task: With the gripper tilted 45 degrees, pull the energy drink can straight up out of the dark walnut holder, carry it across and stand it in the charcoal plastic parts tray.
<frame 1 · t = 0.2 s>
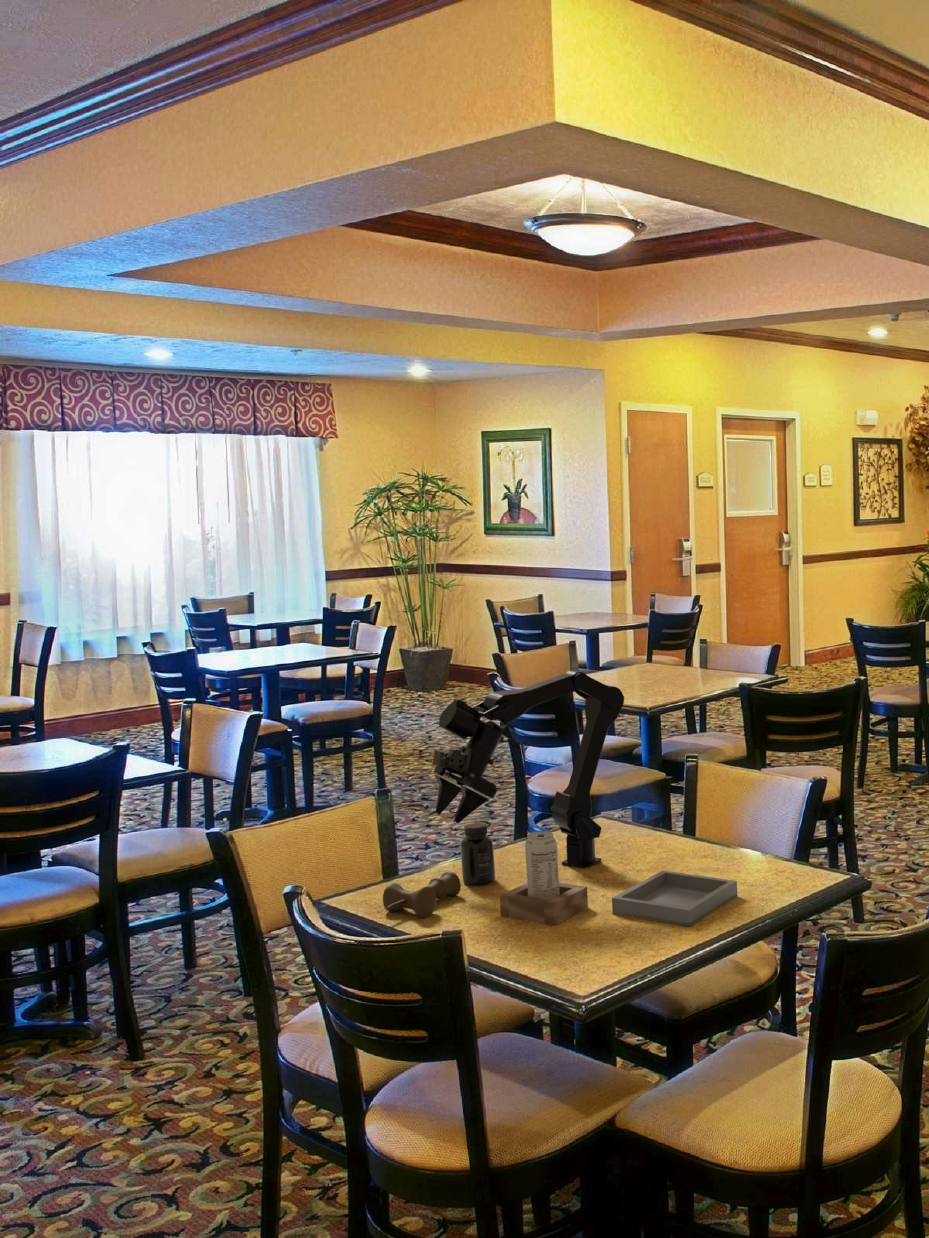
hand: (446, 817, 254), 15 cm above the table, tool tilted 35°, fingers open, 9 cm apart
energy drink can: (544, 912, 237), resting in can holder
parts tray: (675, 904, 237), on the table
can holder: (544, 911, 237), on the table
supplement bottle: (479, 882, 259), on the table
kendama: (421, 909, 244), on the table
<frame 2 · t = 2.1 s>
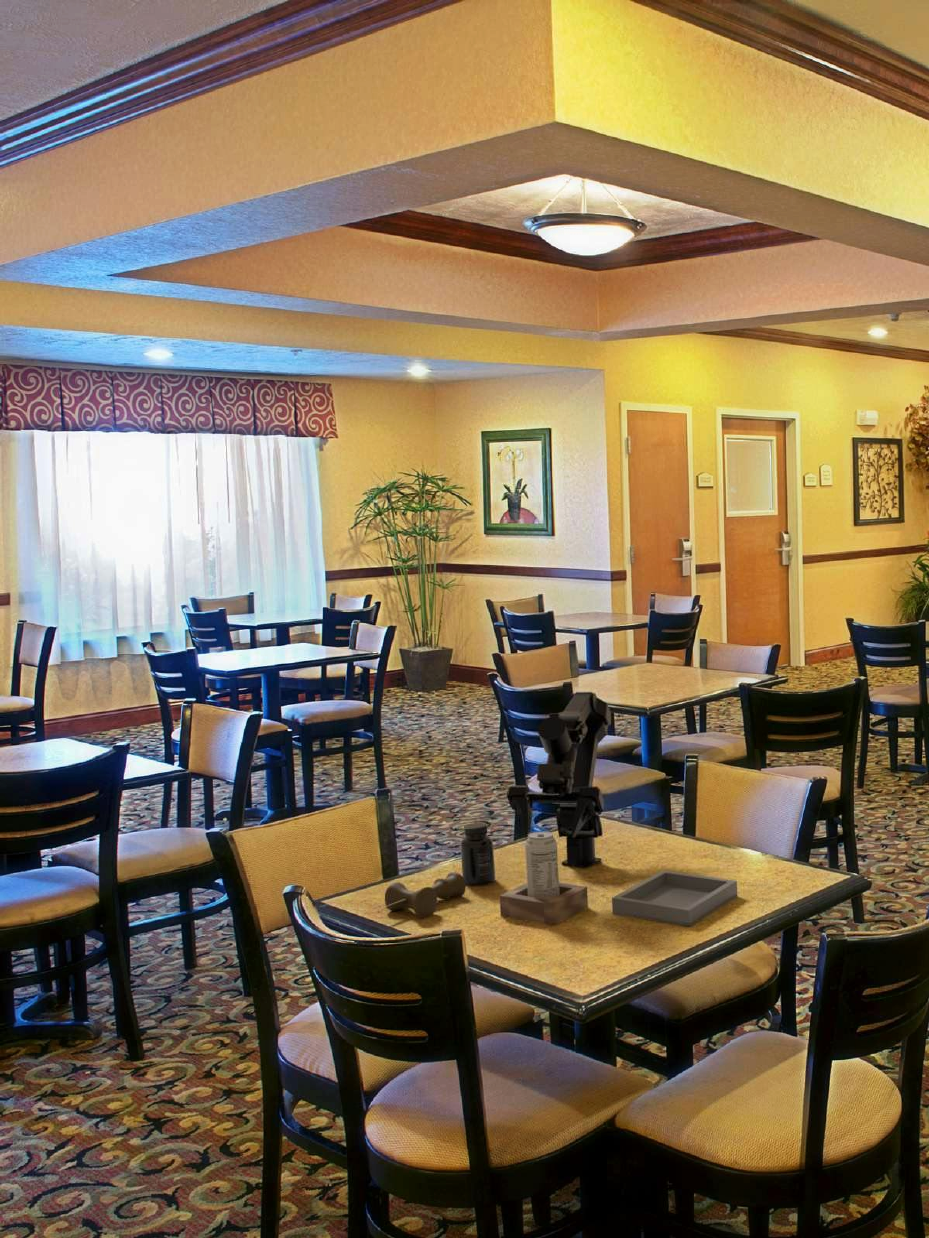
hand: (549, 835, 242), 13 cm above the table, tool tilted 45°, fingers open, 9 cm apart
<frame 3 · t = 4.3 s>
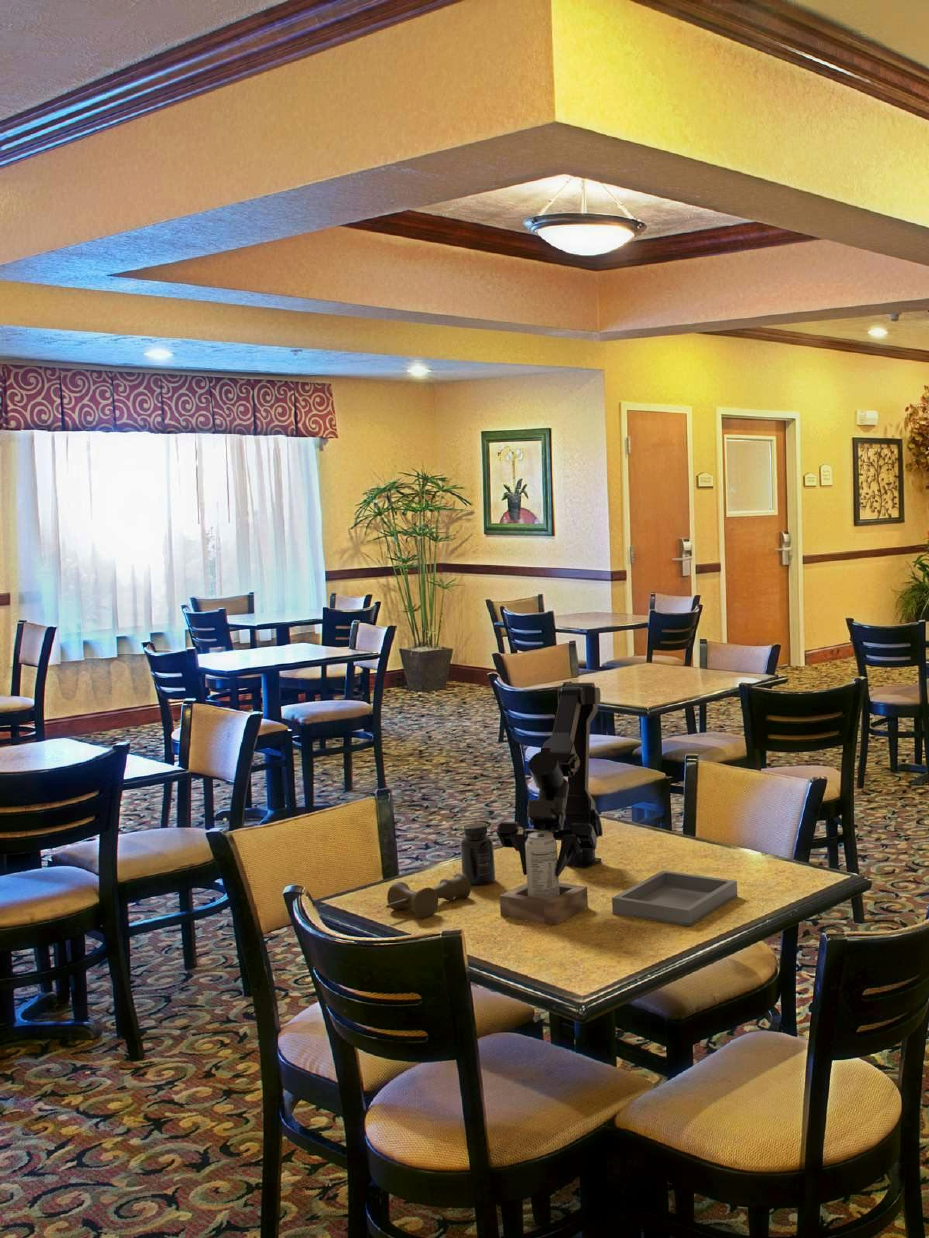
hand: (540, 874, 235), 8 cm above the table, tool tilted 45°, fingers closed on energy drink can, 6 cm apart
energy drink can: (544, 912, 237), resting in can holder, touching gripper
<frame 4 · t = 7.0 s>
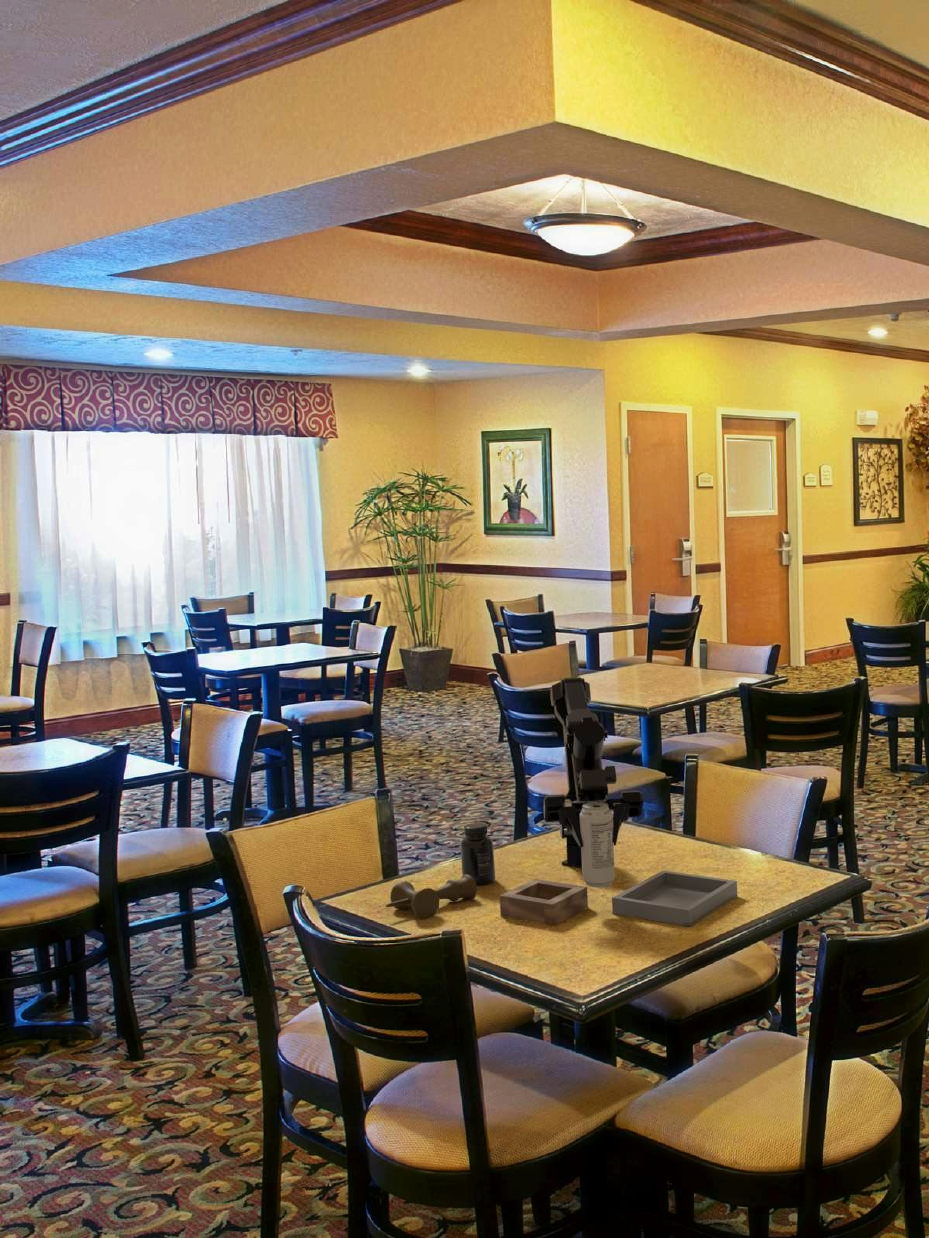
hand: (598, 845, 232), 13 cm above the table, tool tilted 45°, fingers closed on energy drink can, 6 cm apart
energy drink can: (599, 884, 234), point 5 cm above the table, touching gripper
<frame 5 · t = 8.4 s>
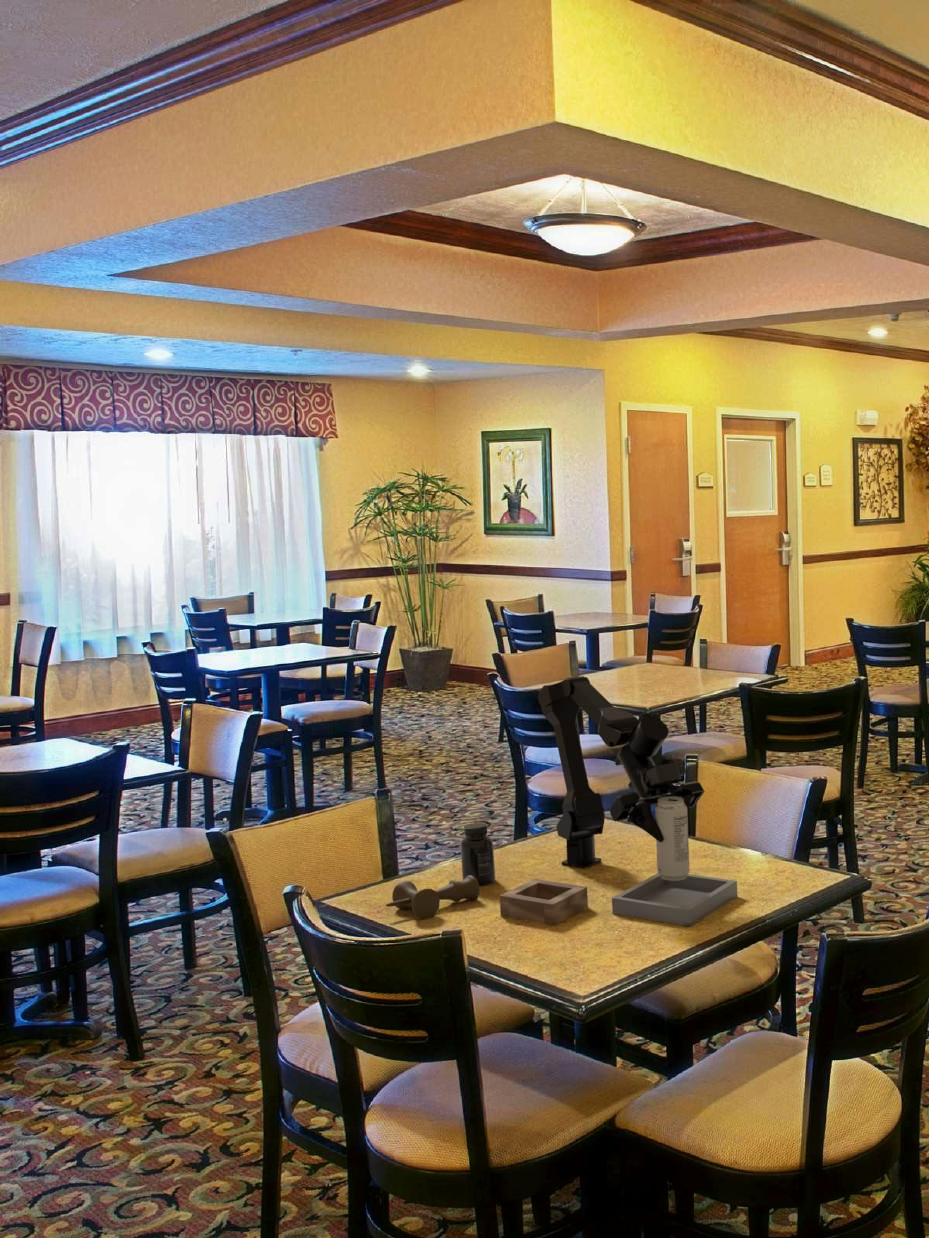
hand: (676, 838, 234), 13 cm above the table, tool tilted 45°, fingers closed on energy drink can, 6 cm apart
energy drink can: (673, 877, 236), point 5 cm above the table, touching gripper
when the fingers open (9 cm above the table, at t = 9.6 s): energy drink can drops 1 cm, resting on parts tray.
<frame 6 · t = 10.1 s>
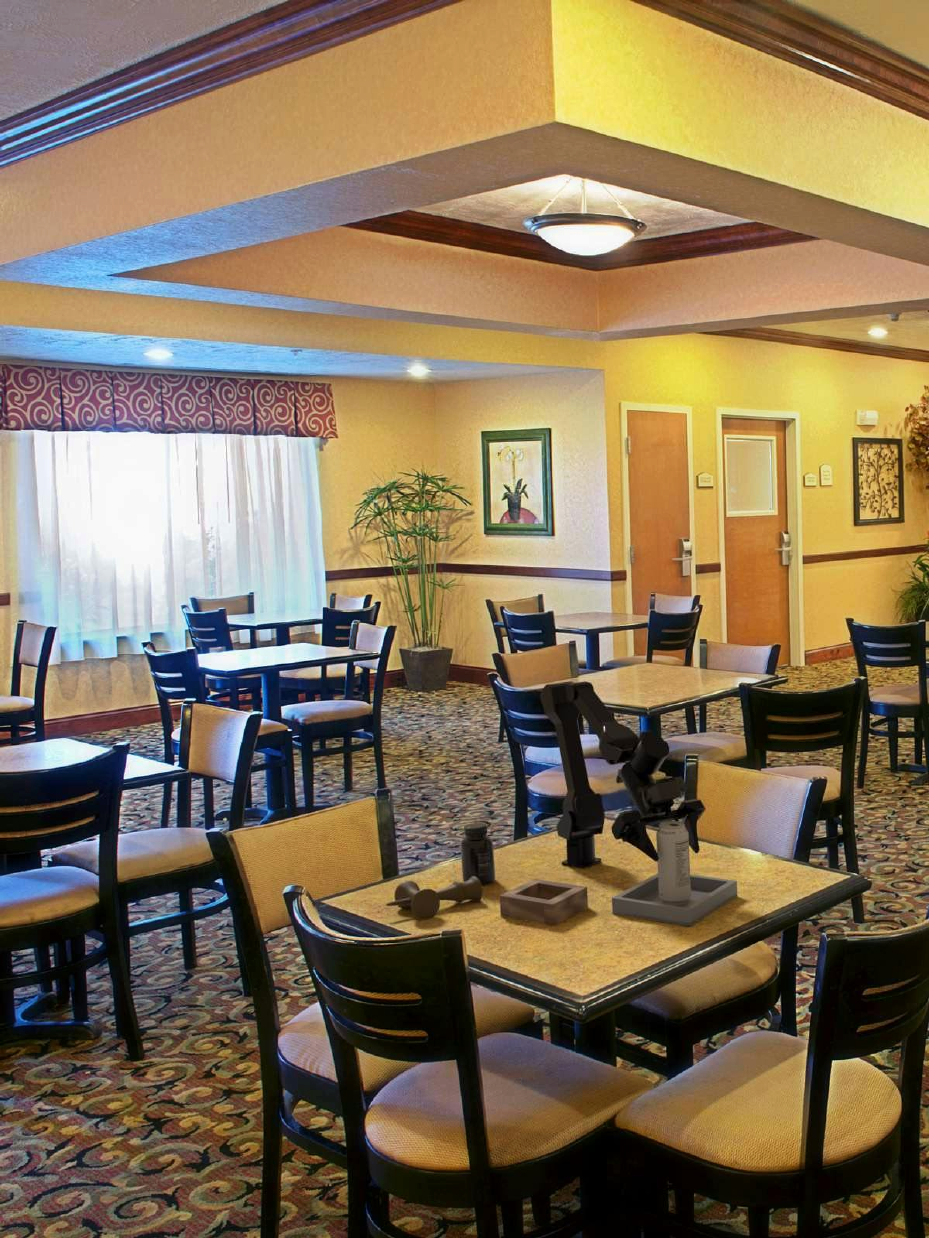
hand: (677, 856, 235), 10 cm above the table, tool tilted 45°, fingers open, 9 cm apart
energy drink can: (675, 902, 237), resting on parts tray
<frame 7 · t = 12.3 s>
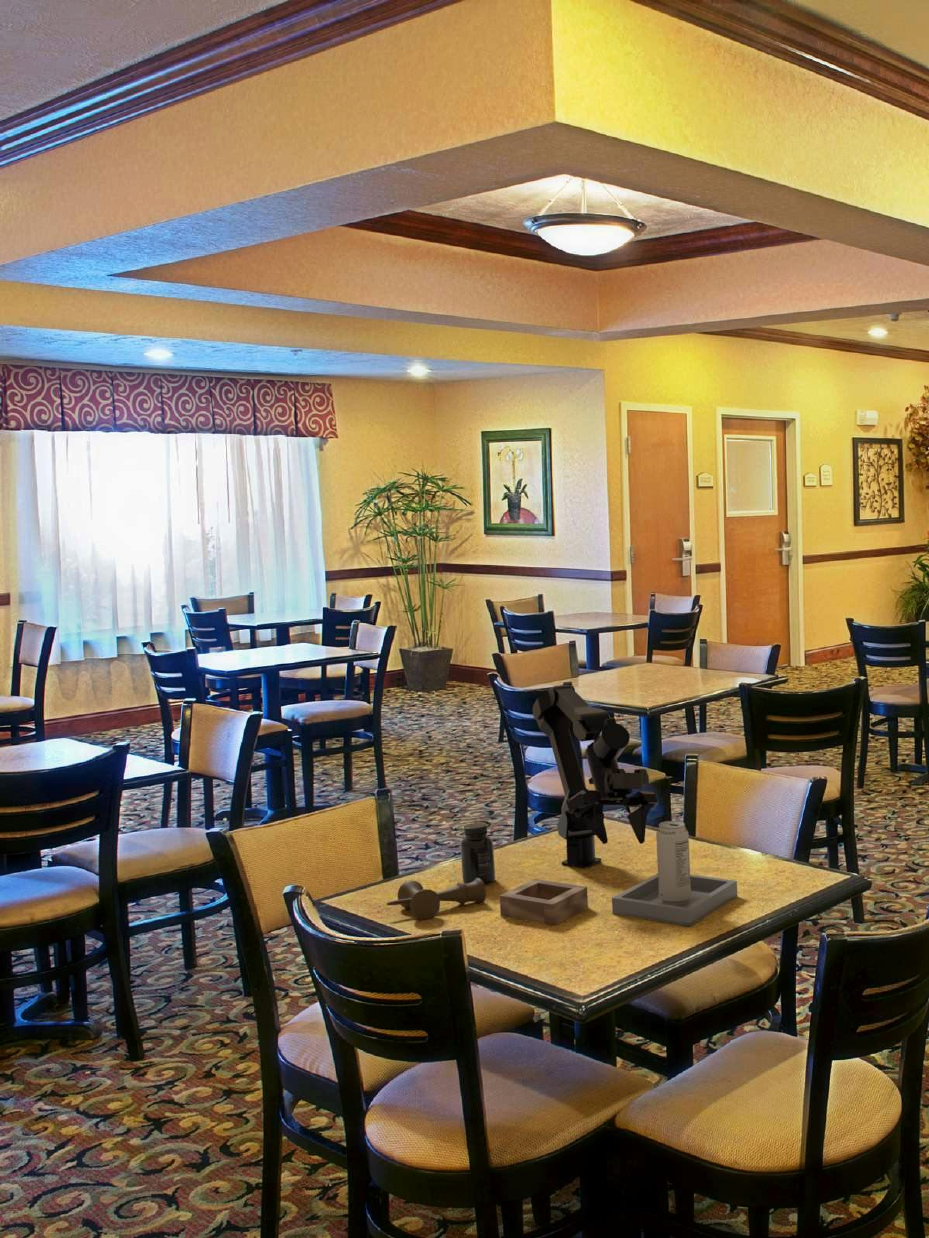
hand: (624, 843, 243), 10 cm above the table, tool tilted 35°, fingers open, 9 cm apart
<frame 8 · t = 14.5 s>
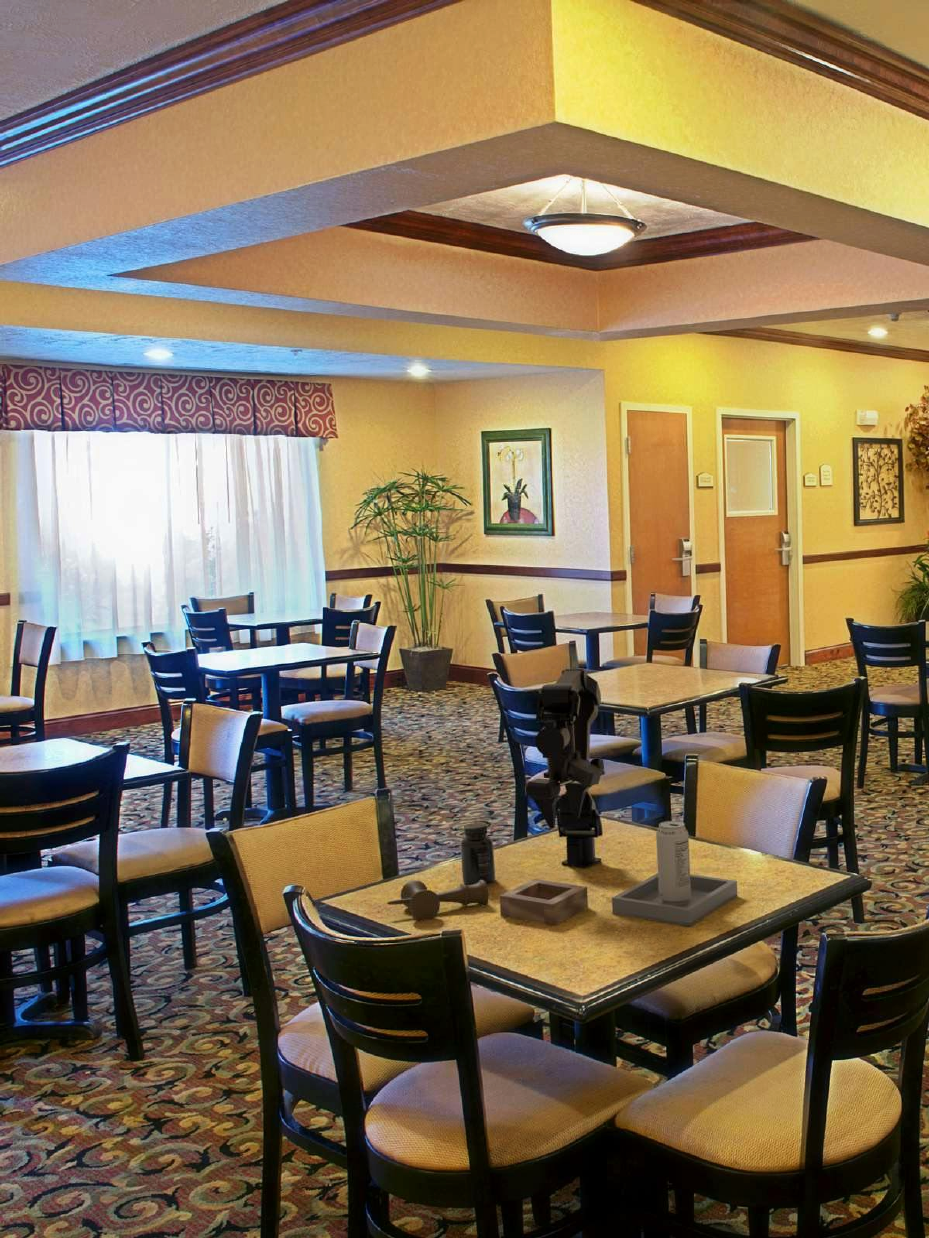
hand: (564, 822, 252), 13 cm above the table, tool pointing down, fingers open, 9 cm apart
at the end: energy drink can inside the target area on the parts tray (0.1 cm from its centre), point 0.4 cm above the parts tray's base; energy drink can tilted 0°; the gripper is holding nothing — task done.
